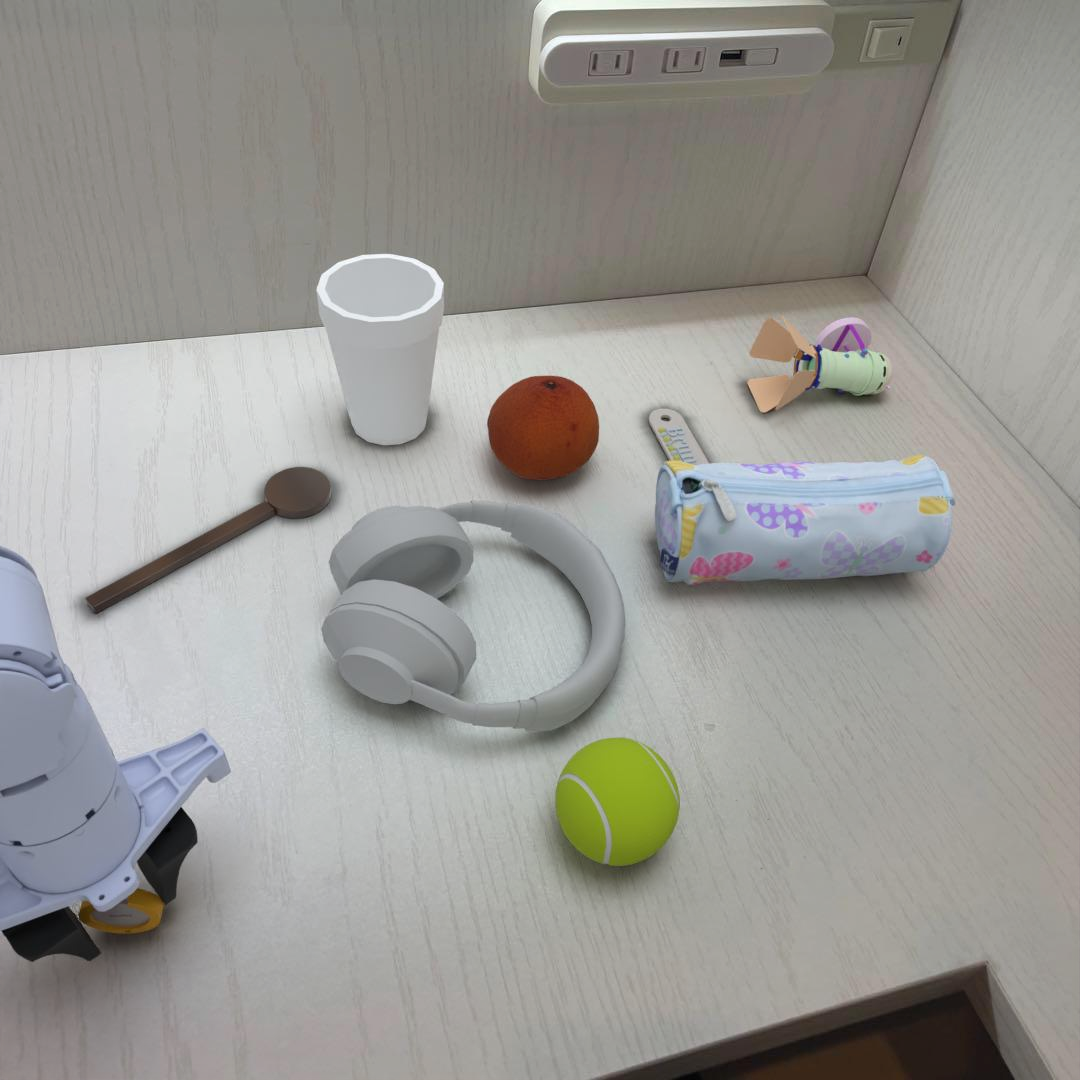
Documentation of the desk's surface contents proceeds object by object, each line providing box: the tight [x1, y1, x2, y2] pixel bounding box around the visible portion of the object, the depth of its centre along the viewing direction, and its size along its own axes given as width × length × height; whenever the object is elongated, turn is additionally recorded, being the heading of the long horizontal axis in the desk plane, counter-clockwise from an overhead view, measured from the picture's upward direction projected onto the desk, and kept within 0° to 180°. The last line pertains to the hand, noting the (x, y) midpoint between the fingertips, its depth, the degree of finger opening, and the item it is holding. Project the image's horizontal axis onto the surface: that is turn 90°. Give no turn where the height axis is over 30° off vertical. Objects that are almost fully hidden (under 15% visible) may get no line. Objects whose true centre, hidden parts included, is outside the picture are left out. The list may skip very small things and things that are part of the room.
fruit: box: [486, 375, 600, 481], centre depth 77 cm, size 9×9×8 cm
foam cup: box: [315, 253, 445, 446], centre depth 78 cm, size 10×9×13 cm
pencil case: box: [654, 454, 956, 586], centre depth 70 cm, size 21×9×10 cm, turn 94°
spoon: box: [85, 466, 332, 614], centre depth 71 cm, size 20×5×1 cm, turn 135°
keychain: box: [648, 407, 710, 465], centre depth 82 cm, size 10×1×3 cm
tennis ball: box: [554, 737, 681, 867], centre depth 55 cm, size 7×7×7 cm
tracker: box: [77, 887, 165, 934], centre depth 51 cm, size 4×1×4 cm, turn 94°
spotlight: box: [747, 315, 894, 414], centre depth 87 cm, size 12×8×8 cm
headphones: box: [320, 500, 626, 733], centre depth 65 cm, size 18×8×20 cm
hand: (124, 915), depth 51 cm, fingers open, 4 cm apart
